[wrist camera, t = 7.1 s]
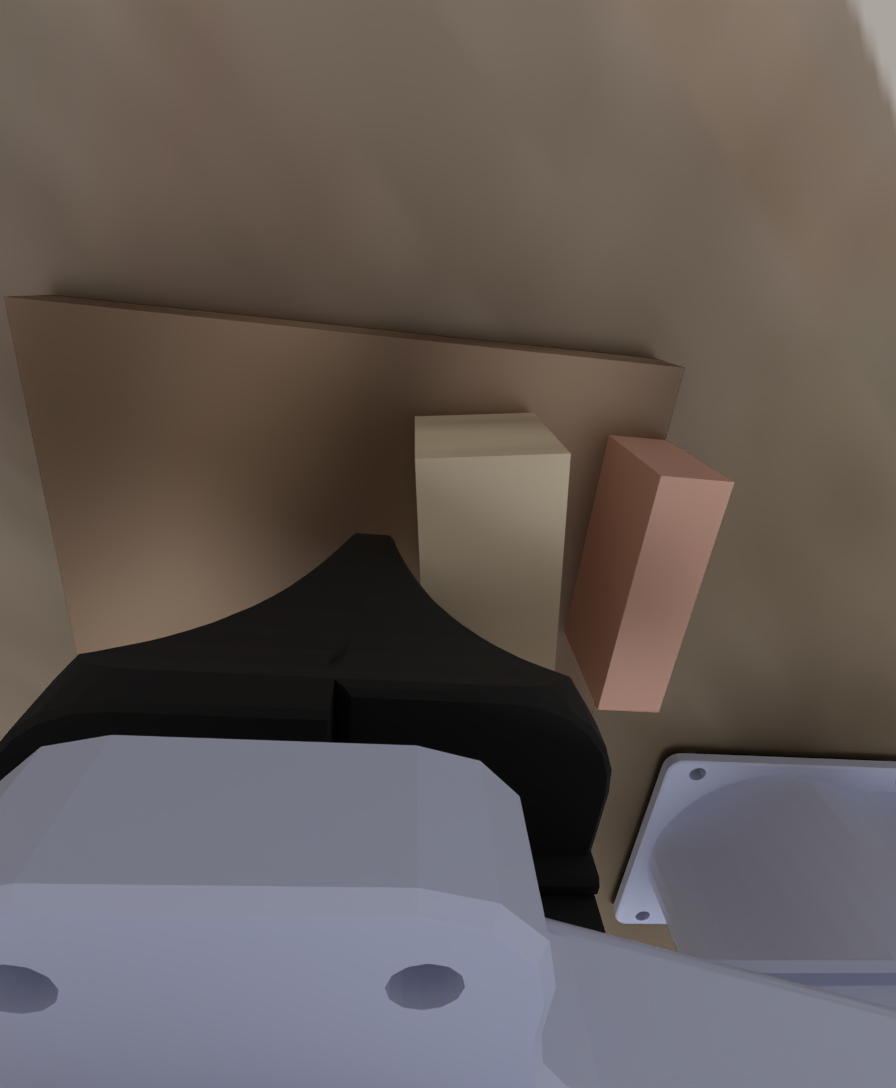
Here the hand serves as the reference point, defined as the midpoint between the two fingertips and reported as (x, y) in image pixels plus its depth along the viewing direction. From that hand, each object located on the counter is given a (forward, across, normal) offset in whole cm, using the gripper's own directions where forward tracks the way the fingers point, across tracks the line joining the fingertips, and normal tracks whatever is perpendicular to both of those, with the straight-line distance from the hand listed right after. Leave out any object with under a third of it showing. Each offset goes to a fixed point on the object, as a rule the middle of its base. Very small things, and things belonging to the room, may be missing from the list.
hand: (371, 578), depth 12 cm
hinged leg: (+1, -2, +2) cm, 4 cm away
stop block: (+1, -5, -1) cm, 6 cm away
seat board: (+3, 0, +2) cm, 4 cm away
